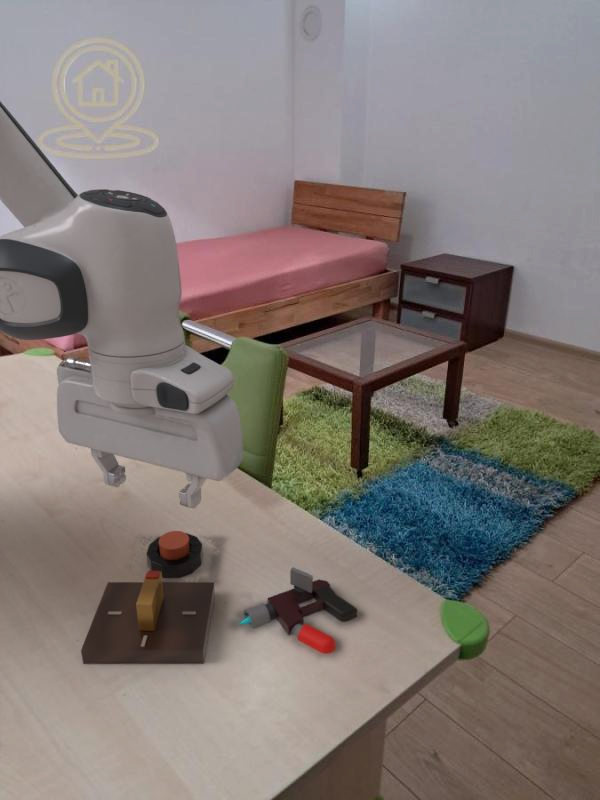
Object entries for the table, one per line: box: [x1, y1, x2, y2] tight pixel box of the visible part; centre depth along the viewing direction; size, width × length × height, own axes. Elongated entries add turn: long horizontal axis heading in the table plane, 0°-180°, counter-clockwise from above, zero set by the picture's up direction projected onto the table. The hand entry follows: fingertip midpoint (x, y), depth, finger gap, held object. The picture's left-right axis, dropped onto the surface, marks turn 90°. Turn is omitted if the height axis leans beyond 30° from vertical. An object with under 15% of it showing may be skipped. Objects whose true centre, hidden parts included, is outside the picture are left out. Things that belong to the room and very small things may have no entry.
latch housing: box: [146, 532, 204, 579], centre depth 77 cm, size 10×8×3 cm
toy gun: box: [238, 566, 358, 655], centre depth 67 cm, size 10×12×5 cm
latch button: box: [159, 530, 190, 560], centre depth 77 cm, size 4×4×2 cm
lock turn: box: [136, 570, 164, 631], centre depth 66 cm, size 5×2×4 cm, turn 0°
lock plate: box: [80, 581, 216, 665], centre depth 67 cm, size 12×10×3 cm
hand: (152, 493), depth 66 cm, fingers open, 8 cm apart
